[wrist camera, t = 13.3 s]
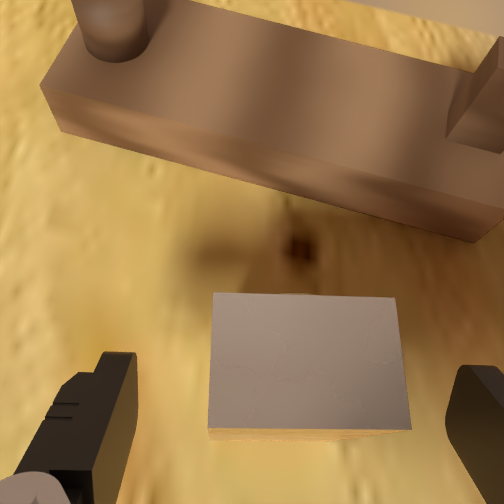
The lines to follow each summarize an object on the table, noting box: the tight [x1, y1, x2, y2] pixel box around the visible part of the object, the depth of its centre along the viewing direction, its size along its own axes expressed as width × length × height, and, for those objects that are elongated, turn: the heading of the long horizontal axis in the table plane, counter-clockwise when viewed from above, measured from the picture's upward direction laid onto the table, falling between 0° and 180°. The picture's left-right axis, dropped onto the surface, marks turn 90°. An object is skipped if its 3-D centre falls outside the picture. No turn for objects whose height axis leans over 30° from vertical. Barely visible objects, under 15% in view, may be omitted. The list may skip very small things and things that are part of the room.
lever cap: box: [208, 292, 412, 441], centre depth 14 cm, size 4×3×8 cm
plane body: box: [40, 0, 504, 243], centre depth 20 cm, size 20×7×7 cm, turn 75°
